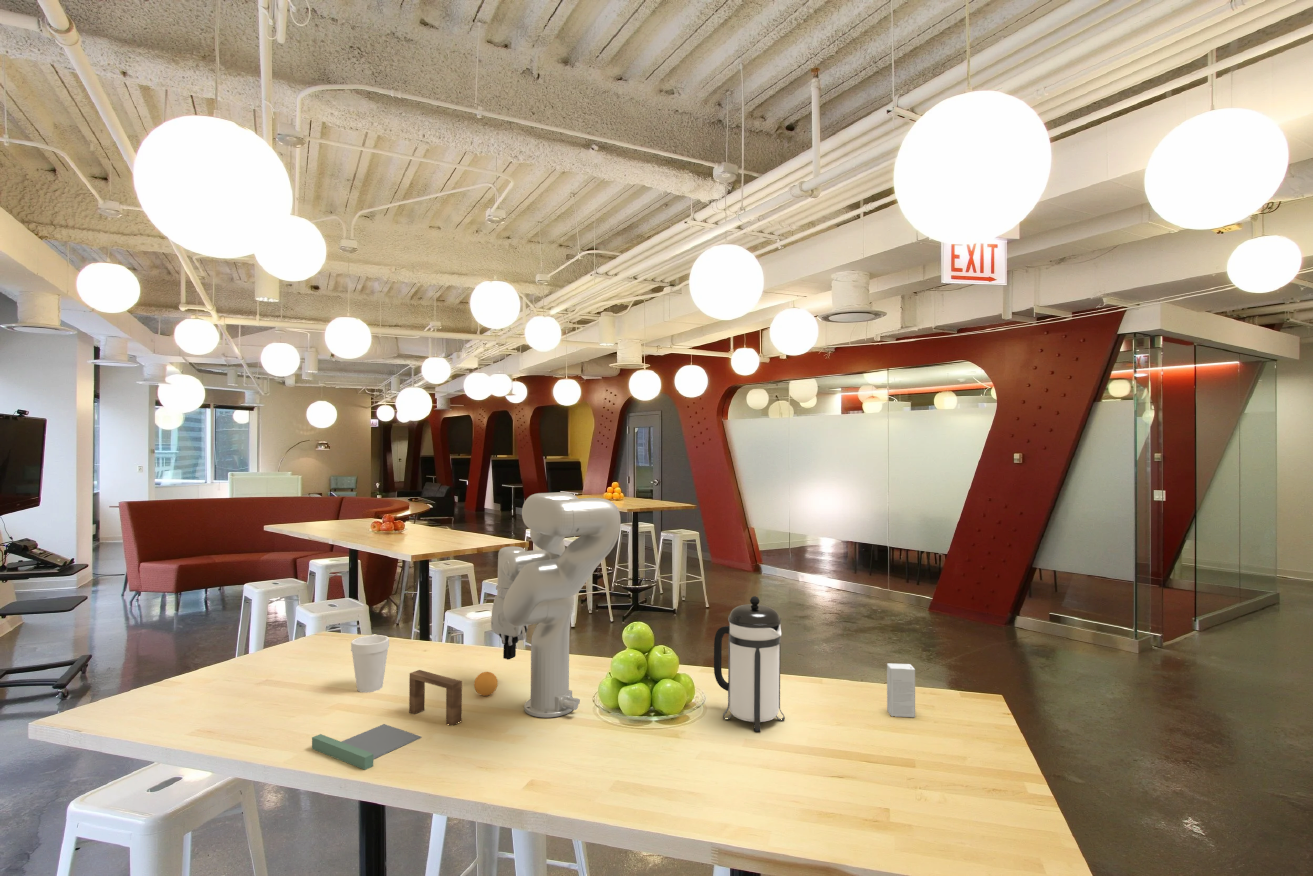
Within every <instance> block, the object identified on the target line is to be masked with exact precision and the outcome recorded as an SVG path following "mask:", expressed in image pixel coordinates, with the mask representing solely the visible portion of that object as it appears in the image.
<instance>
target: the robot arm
mask: <svg viewBox="0 0 1313 876" xmlns="http://www.w3.org/2000/svg"><path fill="white" fill-rule="evenodd" d="M521 517H522V521H523V524H524V525H525V526H526V527H527V529H530V531H529V536H530V539H531V541H532V543H533V544H534V545H535V546H536V547H538V548H539V549H536V550H535V549H533V550H527V551H526V550H525V548H523V547H520V546H515V545H514V546H513V545H512V546H504V547H502V548H500V549H499V550H498V553H497V555H498V556H497V557H498V559H497V584H496V586H495V590H497V591H496V592H497V593H496V594H497V595H494V599H493V604H492V609H491V618H490V619H491V620H490V628H491V630H492V632H494V633H495V635H497V636H499V638H500V639H501V644H502V645H503V650H502V651H503V653H502V654H503V655H502V656H503V657H502V658H503V660H504V659H505V660H511V659H514V658H516V656H517V654H516V652H517V650H516V649H517V644H518V643H519V641H524V640H526V639H527V633H528V630H529V626H530V625H531V626H532V625H536V626H535V627H534V630H533V633H532V635H531V642H530V698H529V699H528V700H526V702H524V704H523V705H524V706H523V709H524V712H525V713H526V714H528V715H530V716H532V717H537V718H545V719H546V718H557V717H561V716H565V715H568V714H569V713H572V711H577V710H578V707H579V704H580V702H581V699H580V698H578V697H573V690H571V689H570V632H571V630H570V629H571V619H572V615H573V609H574V603H575V599H574V598H575V597H574V596H575V595H577V594H578V593H579V592H580V591H581V590H582V589H583V586H584V585H585V584H586V583H587V582H588V580H589V578H591V576H592V574H593V573H594V571H596V569H597V567H598V566H599V565H600V564H601V563H602V562H603V561H604V560H605V559H606V557H607V556H608V555H609V554H610V553H611V551H612V550H613V548H614V547H615V546H616V543H617V541H618V538H619V535H620V532H621V514H620V510H619V507H618V506H617V505H616V503H615V502H612V501H611V500H609V499H606V498H599V497H586V498H585V497H584V498H578V496H577V495H575V494H573V493H571V492H564V491H561V492H560V491H559V492H538V493H534V494H531V495H529V496H528V497H527V498H526V500H524V503H523V505H522V509H521ZM569 537H577V538H575V539H574V540H573V541H571V542H570V543H568V545H567V546H566V545H565V542H564V539H565V538H569Z"/></svg>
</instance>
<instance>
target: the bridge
mask: <svg viewBox="0 0 1313 876" xmlns="http://www.w3.org/2000/svg"><path fill="white" fill-rule="evenodd" d="M408 683H409V690H408V691H409V692H408V693H409V696H408V703H409V704H408V708H409V709H408V713H409V714H413V715H416V714H419V713H421V712H423V711H425V710H426V709H425V708H426V707H425V702H426V701H425V689H426V688H425V687H426V684H430V685H434V686H437V687H441V688H444V689H446V690H445V693H446V694H445V718H446V719H445V724H446V725H447V724H449V725H448V726H450V725H453V726H455V725H457V724H456V723H458V722H460V721H463V720H462V719H463V718H462V717H463V715H462V714H463V712H462V711H463V709H462V708H463V707H462V706H463V704H462V703H463V681H462V680H459V679H455V678H453V677H448V676H444V675H440V674H437V673H433V672H430V671H429V672H428V671H425V670H423V669H418V670H415V671H411V672H409V682H408ZM425 683H426V684H425ZM460 723H461V722H460ZM454 724H455V725H454ZM458 724H459V723H458Z"/></svg>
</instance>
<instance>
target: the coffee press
mask: <svg viewBox="0 0 1313 876" xmlns="http://www.w3.org/2000/svg"><path fill="white" fill-rule="evenodd" d="M749 601H750V604H749V603H748V604H741V605H738V606H736V607H734V608H733V609H732V610H731V611H730V613H729V614H728V616H727V617H728V619H727V620H728V623H729V625H724V626H721V627H719V628H718V629H717V630H716V632H715V636H714V640H713V641H714V642H713V673H714V674H713V675H714V678H715V681H716V683H717V684H718V685H719V687H720V688H721V689H723V690H724V691H726V692H727V707H726V709H725V711H724V712H723V713H722V718H723V720H724V719H725V718H728V720H727V721H729V720H730V719H732V717H734V718H736V719H739V720H741V721H744V722H748V723H749V722H750V723H753V732H755V733H756V732H757V733H758V732H761V723H764V722H769V721H771V720H773V719H775V718H776V719H778V721H780V722H784V721H785V719H786V717H785V715H784V713H783V711H782V710H781V637H782V629H781V628H782V627H781V624H782V618H781V617H780V614H779V613H778V611H777V610H776V609H774V608H772V607H770V606H769V605H768V606H767V605H764V604H759V603H760V602H761V601H760V598H759V597H758V596H756V595H755V596H752V597H751V598H750V599H749ZM726 634H728V642H729V643H728V651H727V653H728V656H727V657H728V663H727V664H728V665H727V666H728V670H727V672H728V674H727V677H728V678H727V681H726V680H725V679H724V677H723V674H722V671H723V670H722V662H723V661H722V657H723V655H722V650H723V649H722V643H723V637H724V636H725V635H726ZM728 712H730V713H731V714H730V715H728V716H727V717H725V716H726V714H727V713H728ZM779 712H780V714H781V715H782V716H783V717H781V718H780V717H779V716H778V714H779ZM781 719H782V720H781Z"/></svg>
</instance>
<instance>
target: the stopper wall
mask: <svg viewBox="0 0 1313 876" xmlns="http://www.w3.org/2000/svg"><path fill="white" fill-rule="evenodd" d="M311 749H312V750H314V751H316V752H319V753H321V754H324V755H326V756H329V757H332V758H334V759H337V760H339V761H342V762H344V763H346V764H349V765H351V766H354V767H356V768H359V769H362V770H364V771H366V770H368V769H370V768H372V767H374V759H373V754H372V753H370V752H367V751H364V750H362V749H359V748H356V747H354V746H351V745H348V744H346V743H343V742H341V740H337V739H335V738H332V737H330V736H328V735H327V736H326V735H325V734H321V733H320V734H316V735H315V736H312V737H311Z"/></svg>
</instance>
